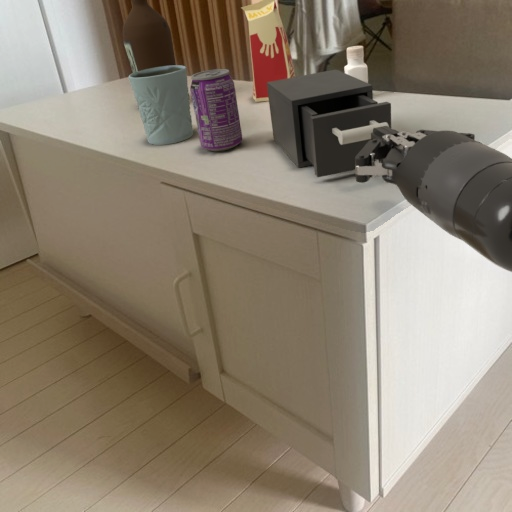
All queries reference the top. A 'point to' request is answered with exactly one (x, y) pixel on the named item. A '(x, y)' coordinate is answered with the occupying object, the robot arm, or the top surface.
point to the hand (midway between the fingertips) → (378, 135)
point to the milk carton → (267, 47)
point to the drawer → (339, 130)
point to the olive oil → (147, 38)
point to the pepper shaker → (356, 63)
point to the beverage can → (216, 109)
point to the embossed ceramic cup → (163, 103)
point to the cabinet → (303, 92)
